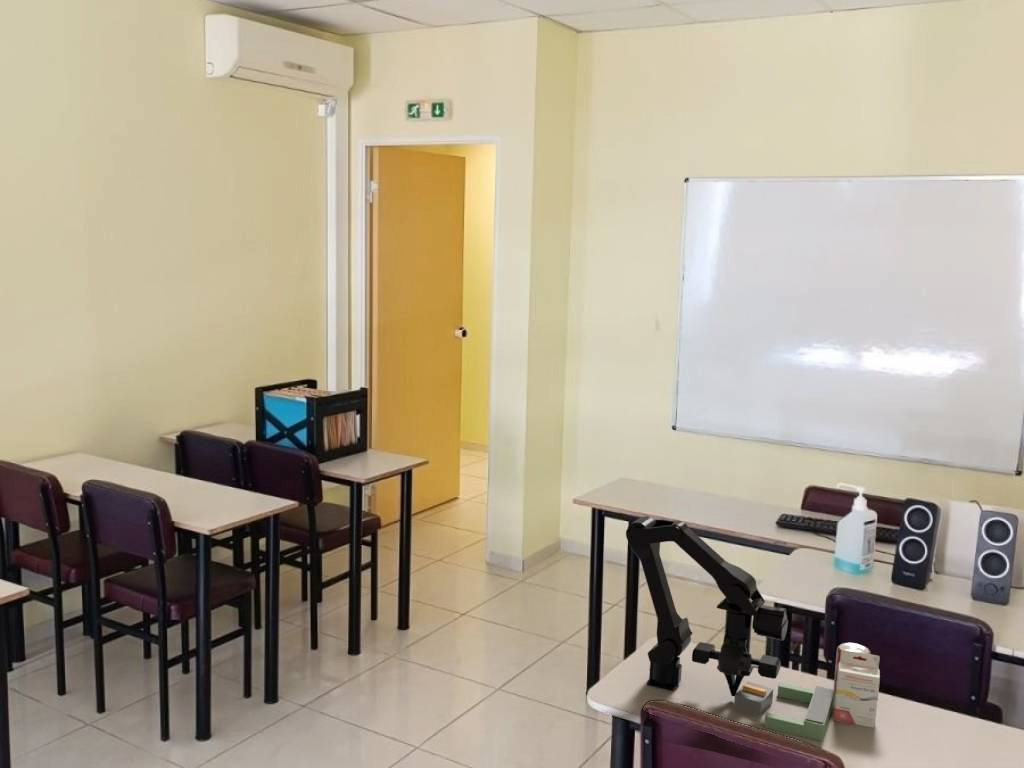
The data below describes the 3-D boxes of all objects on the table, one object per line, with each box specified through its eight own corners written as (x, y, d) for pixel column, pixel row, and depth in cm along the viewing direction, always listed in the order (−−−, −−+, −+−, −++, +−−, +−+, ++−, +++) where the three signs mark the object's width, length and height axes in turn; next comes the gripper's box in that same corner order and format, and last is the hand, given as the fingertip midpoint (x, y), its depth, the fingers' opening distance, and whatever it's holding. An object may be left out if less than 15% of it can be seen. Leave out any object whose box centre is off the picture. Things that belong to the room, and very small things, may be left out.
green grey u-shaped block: (764, 727, 206) (765, 710, 206) (778, 692, 222) (780, 677, 222) (822, 741, 201) (823, 724, 201) (833, 704, 217) (834, 688, 217)
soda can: (868, 708, 216) (873, 657, 215) (835, 703, 218) (839, 653, 216) (863, 693, 223) (868, 644, 222) (831, 689, 225) (835, 640, 223)
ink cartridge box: (833, 721, 210) (839, 657, 208) (833, 710, 215) (839, 648, 212) (875, 728, 207) (881, 664, 205) (874, 718, 212) (880, 654, 210)
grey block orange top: (733, 709, 215) (735, 690, 214) (746, 695, 221) (748, 677, 220) (760, 717, 211) (761, 698, 211) (772, 703, 218) (773, 684, 217)
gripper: (687, 634, 212) (683, 701, 214) (774, 651, 204) (768, 720, 207) (700, 617, 222) (696, 681, 224) (783, 633, 214) (778, 699, 217)
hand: (733, 695), depth 218 cm, fingers closed
